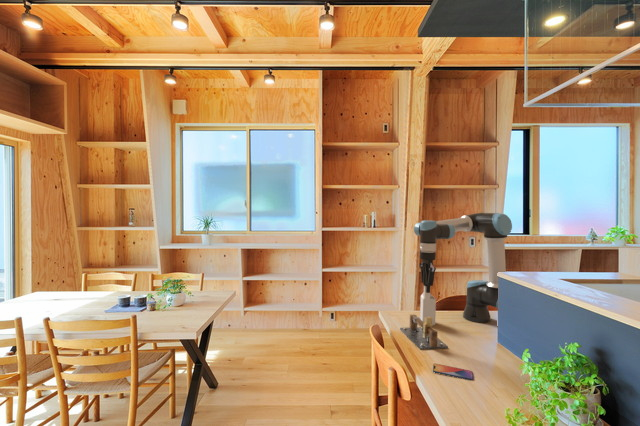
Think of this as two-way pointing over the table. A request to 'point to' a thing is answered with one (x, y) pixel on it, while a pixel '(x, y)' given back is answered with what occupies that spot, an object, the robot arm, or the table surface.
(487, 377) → the table surface
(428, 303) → the milk carton
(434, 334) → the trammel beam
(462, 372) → the smartphone
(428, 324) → the slider
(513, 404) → the table surface
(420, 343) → the flange plate
